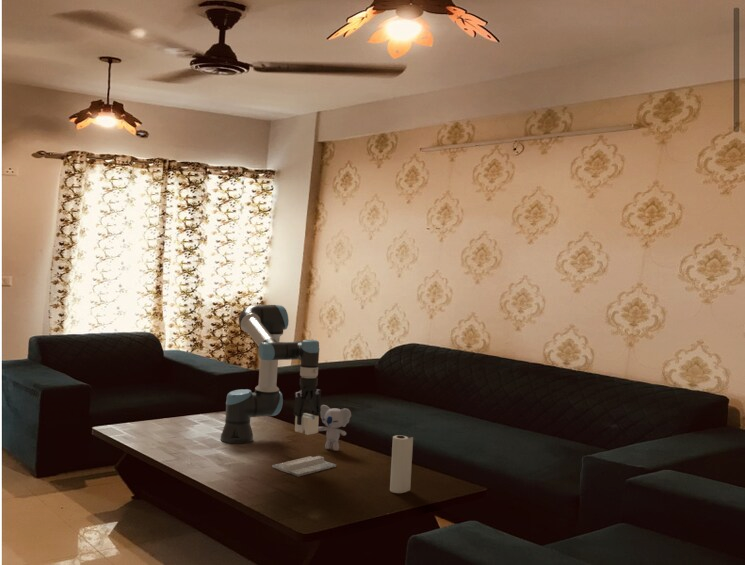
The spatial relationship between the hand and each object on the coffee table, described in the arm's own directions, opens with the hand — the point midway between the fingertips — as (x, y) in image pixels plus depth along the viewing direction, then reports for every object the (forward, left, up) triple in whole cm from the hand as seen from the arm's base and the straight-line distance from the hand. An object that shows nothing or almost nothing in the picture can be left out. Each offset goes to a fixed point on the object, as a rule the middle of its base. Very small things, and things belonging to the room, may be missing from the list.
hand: (306, 431), depth 305 cm
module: (0, 0, 0) cm, 0 cm away
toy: (-12, +29, -16) cm, 35 cm away
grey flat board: (0, 0, -15) cm, 15 cm away
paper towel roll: (+46, +7, -16) cm, 49 cm away
